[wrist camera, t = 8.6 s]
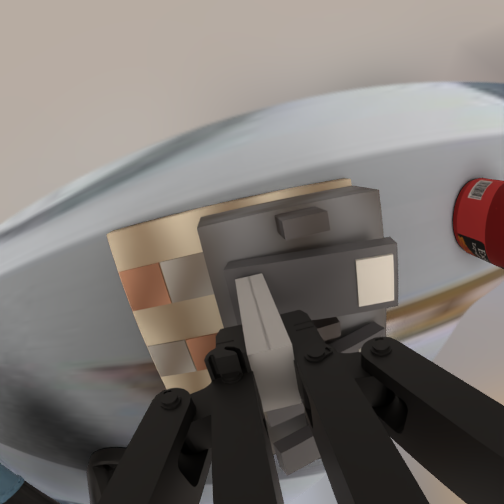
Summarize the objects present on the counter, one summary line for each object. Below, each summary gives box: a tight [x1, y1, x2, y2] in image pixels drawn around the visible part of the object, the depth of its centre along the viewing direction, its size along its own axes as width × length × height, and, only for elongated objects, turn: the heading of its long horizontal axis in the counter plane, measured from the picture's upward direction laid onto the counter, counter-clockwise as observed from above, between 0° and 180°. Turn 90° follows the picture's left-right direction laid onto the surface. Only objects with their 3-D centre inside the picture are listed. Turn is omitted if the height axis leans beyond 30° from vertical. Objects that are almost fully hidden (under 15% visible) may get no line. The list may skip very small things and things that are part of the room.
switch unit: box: [107, 178, 386, 459], centre depth 21 cm, size 18×22×7 cm
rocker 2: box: [273, 425, 321, 475], centre depth 19 cm, size 9×4×1 cm, turn 102°
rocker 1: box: [223, 237, 398, 325], centre depth 15 cm, size 9×4×1 cm, turn 101°
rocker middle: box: [264, 322, 385, 427], centre depth 17 cm, size 9×4×1 cm, turn 102°
